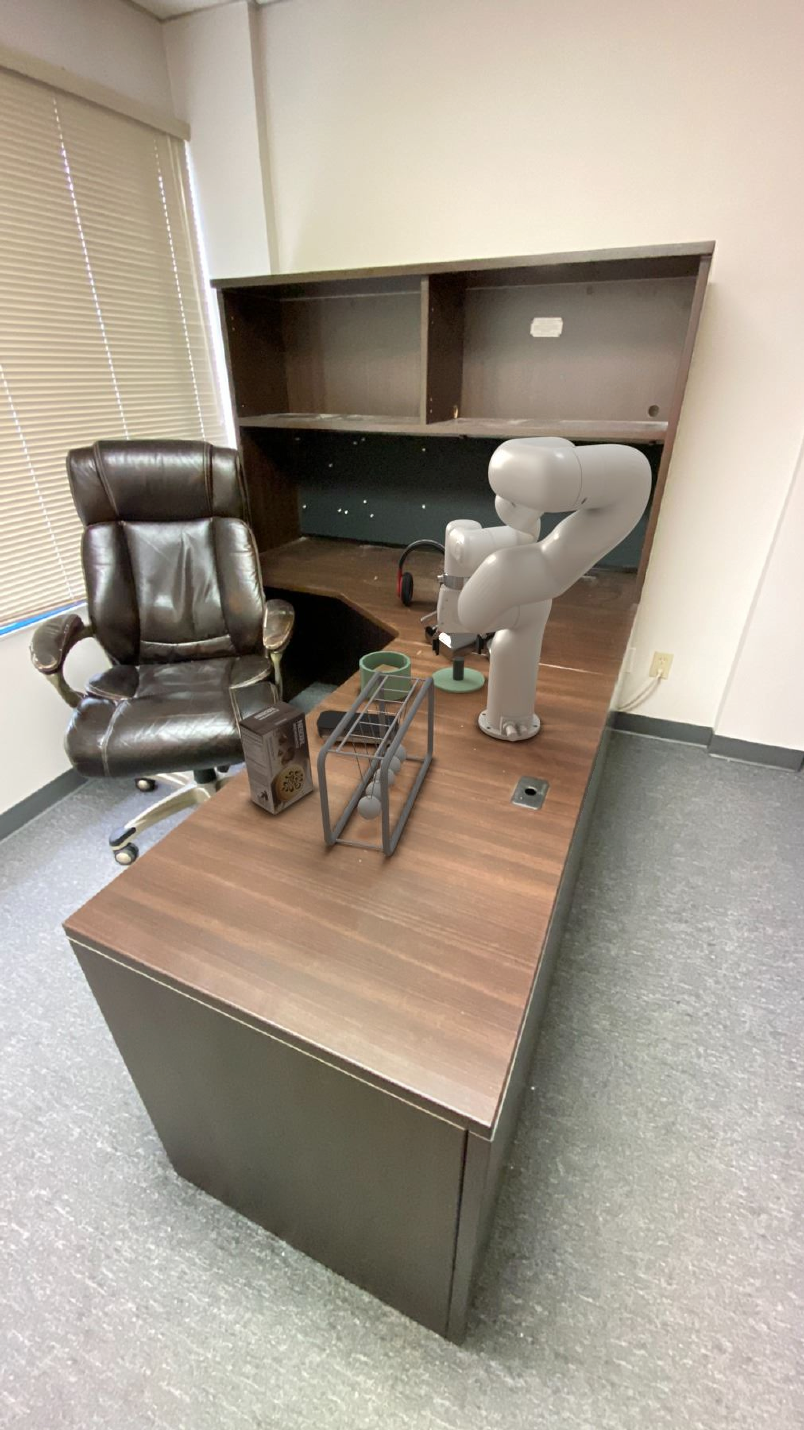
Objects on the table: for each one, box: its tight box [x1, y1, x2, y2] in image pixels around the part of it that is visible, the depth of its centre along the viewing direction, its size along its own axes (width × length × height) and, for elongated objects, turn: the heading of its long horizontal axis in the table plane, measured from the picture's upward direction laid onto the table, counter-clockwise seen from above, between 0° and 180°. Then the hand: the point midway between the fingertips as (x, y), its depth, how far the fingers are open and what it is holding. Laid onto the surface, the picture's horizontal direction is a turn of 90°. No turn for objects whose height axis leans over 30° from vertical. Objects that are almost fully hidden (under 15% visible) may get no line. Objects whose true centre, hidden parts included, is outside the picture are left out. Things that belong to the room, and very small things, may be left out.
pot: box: [359, 650, 412, 702], centre depth 138 cm, size 11×11×8 cm
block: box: [374, 664, 399, 671], centre depth 138 cm, size 4×4×5 cm
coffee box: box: [237, 700, 314, 815], centre depth 102 cm, size 9×6×16 cm
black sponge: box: [316, 709, 399, 745], centre depth 122 cm, size 16×8×4 cm, turn 81°
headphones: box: [396, 538, 445, 606], centre depth 184 cm, size 18×10×20 cm, turn 78°
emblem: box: [424, 623, 496, 662], centre depth 162 cm, size 28×5×28 cm
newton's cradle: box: [316, 671, 435, 857], centre depth 100 cm, size 30×10×18 cm, turn 165°
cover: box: [431, 656, 486, 694], centre depth 141 cm, size 12×12×6 cm
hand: (457, 652), depth 139 cm, fingers open, 9 cm apart
